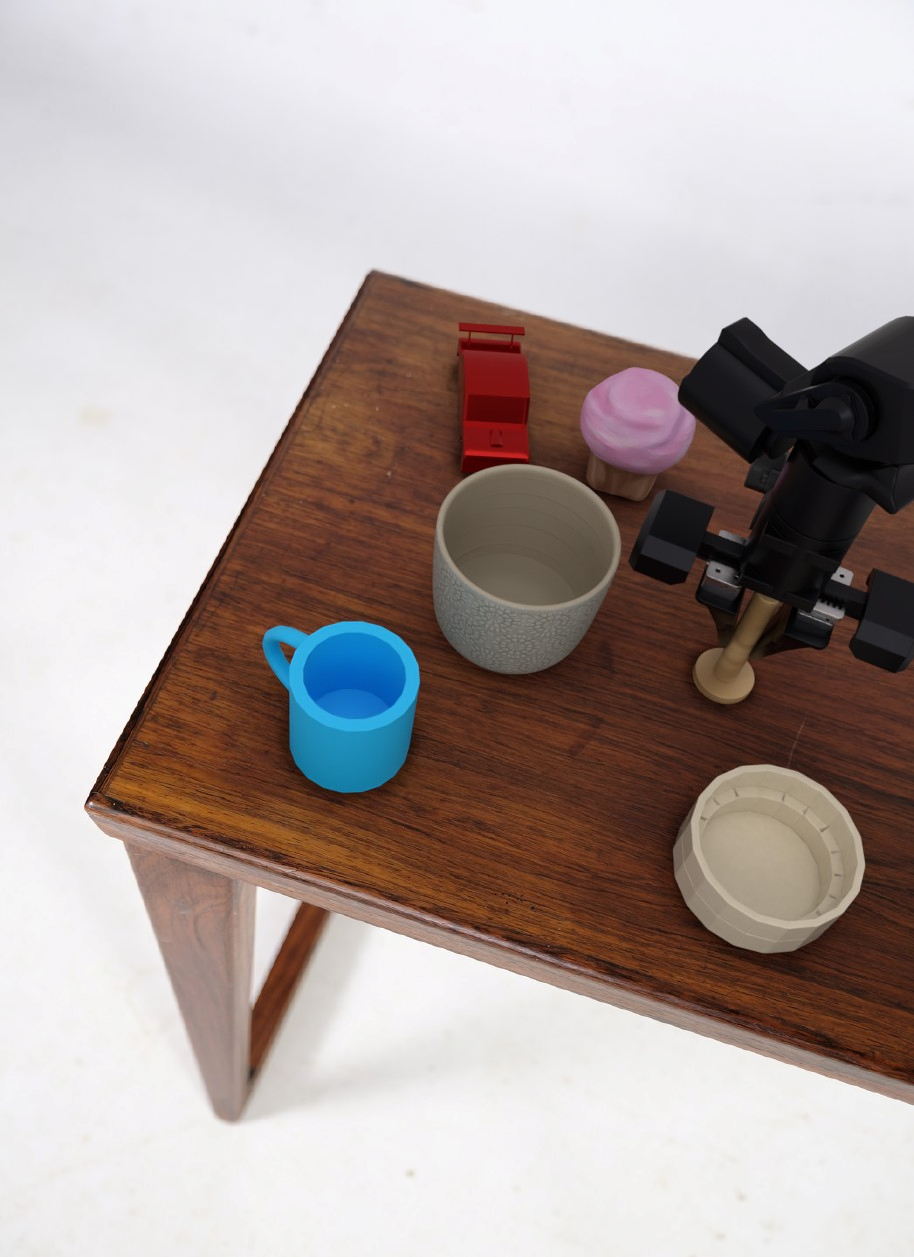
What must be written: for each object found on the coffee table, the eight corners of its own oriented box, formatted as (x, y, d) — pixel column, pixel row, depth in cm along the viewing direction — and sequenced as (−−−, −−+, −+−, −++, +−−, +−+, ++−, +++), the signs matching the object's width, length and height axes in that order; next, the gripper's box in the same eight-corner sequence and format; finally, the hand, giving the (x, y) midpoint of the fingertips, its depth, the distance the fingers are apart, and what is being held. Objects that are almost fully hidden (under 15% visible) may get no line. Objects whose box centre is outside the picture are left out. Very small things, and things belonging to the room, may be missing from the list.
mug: (434, 737, 82) (446, 673, 75) (352, 816, 78) (358, 756, 71) (307, 635, 85) (309, 566, 79) (223, 706, 81) (217, 639, 75)
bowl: (849, 837, 81) (879, 804, 77) (814, 985, 75) (844, 958, 71) (697, 773, 83) (718, 738, 79) (649, 913, 76) (670, 883, 72)
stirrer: (757, 667, 88) (809, 580, 80) (743, 713, 86) (794, 628, 77) (701, 645, 89) (746, 556, 80) (685, 690, 86) (730, 603, 78)
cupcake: (556, 503, 95) (581, 414, 87) (575, 428, 100) (600, 337, 92) (665, 531, 95) (700, 444, 87) (678, 454, 100) (712, 365, 92)
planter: (621, 629, 89) (658, 537, 80) (514, 730, 83) (541, 643, 74) (497, 533, 93) (519, 435, 84) (386, 623, 87) (397, 528, 78)
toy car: (453, 357, 103) (460, 313, 99) (516, 362, 104) (526, 318, 100) (457, 479, 95) (464, 437, 91) (526, 483, 96) (536, 441, 92)
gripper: (989, 471, 75) (887, 615, 87) (706, 368, 77) (648, 522, 90) (963, 600, 68) (857, 734, 81) (656, 483, 71) (601, 631, 84)
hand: (738, 648), depth 84 cm, fingers closed on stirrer, 2 cm apart
